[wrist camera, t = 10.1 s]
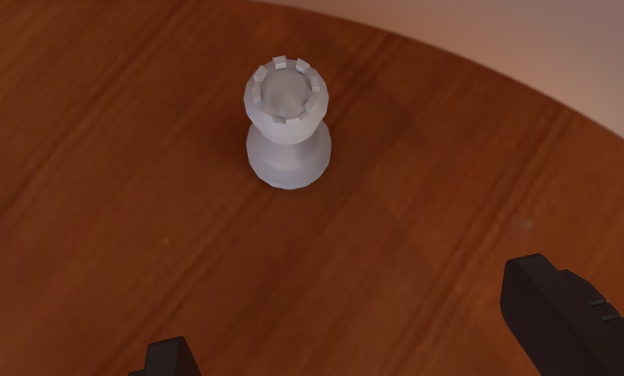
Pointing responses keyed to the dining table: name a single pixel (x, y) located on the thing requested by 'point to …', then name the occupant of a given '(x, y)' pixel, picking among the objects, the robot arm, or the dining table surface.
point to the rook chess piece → (287, 123)
